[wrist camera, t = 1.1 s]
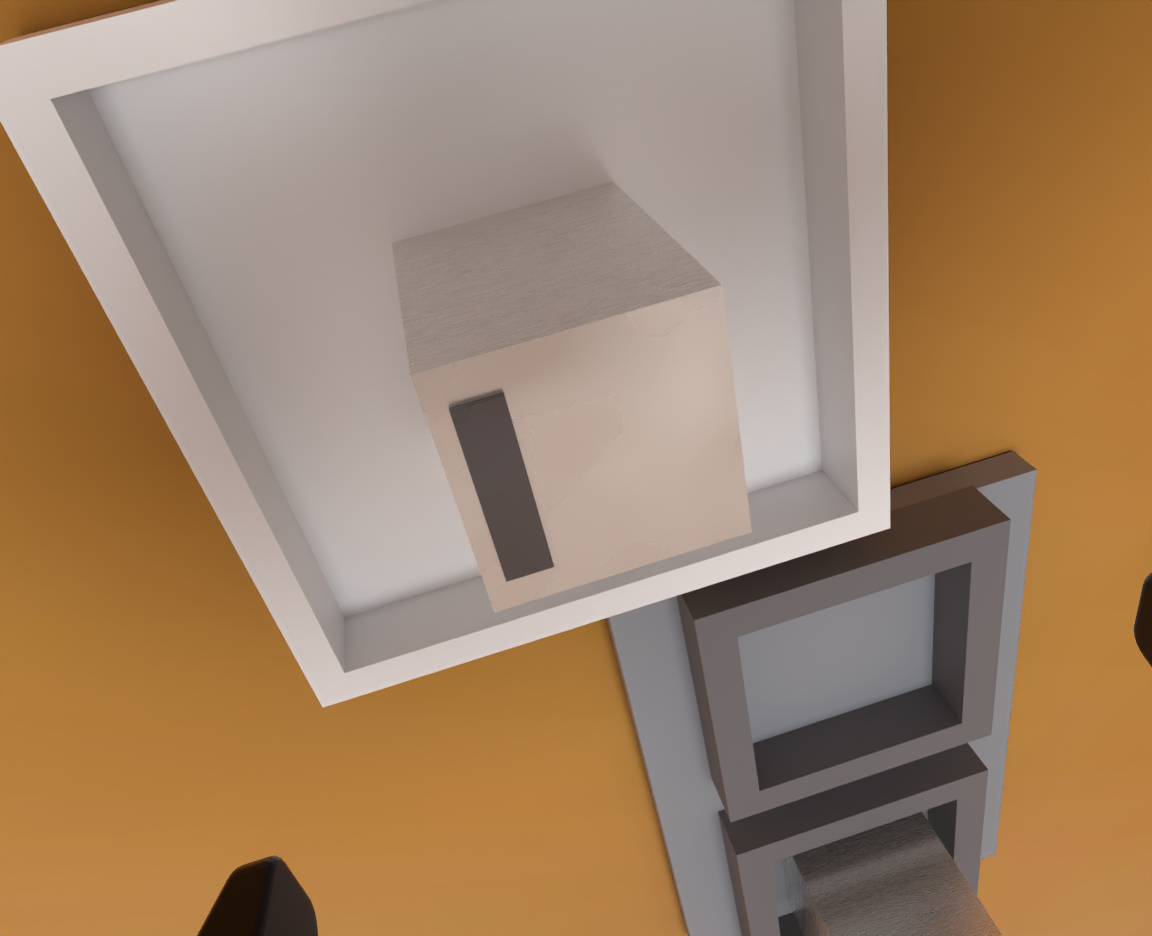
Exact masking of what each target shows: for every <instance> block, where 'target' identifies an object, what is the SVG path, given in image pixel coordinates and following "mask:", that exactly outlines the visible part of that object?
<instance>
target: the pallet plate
mask: <svg viewBox="0 0 1152 936" xmlns="http://www.w3.org/2000/svg"><path fill="white" fill-rule="evenodd" d="M1036 471H1037V470H1036V469H1035V468H1034V467H1033V466H1031V465H1030V464H1029V463H1028V462H1026V461H1025V460H1024V459H1022V458H1021V457H1020V456H1019V455H1017V454H1016V453H1015V452H1014V451H1011V452H1008V453H1005V454H1001V455H998V456H995V457H992V458H989V459H985V460H982V461H979V462H976V463H973V464H970V465H966V466H963V467H960V468H957V469H954V470H950V471H947V472H944V473H941V474H938V475H934V476H931V477H928V478H925V479H922V480H918V481H915V482H912V483H909V484H906V485H902V486H899V487H896V488H893V489H890V528H889V529H886V530H883V531H880V532H877V533H873V534H870V535H867V536H864V537H861V538H858V539H855V540H851V541H848V542H845V543H842V544H839V545H836V546H832V547H829V548H826V549H823V550H820V551H817V552H813V553H810V554H807V555H804V556H801V557H798V558H794V559H791V560H788V561H785V562H782V563H779V564H775V565H772V566H769V567H766V568H763V569H760V570H756V571H753V572H750V573H747V574H744V575H741V576H738V577H734V578H731V579H728V580H725V581H722V582H719V583H715V584H712V585H709V586H706V587H703V588H700V589H696V590H693V591H690V592H687V593H684V594H681V595H677V596H674V597H671V598H668V599H665V600H662V601H658V602H655V603H652V604H649V605H646V606H643V607H639V608H636V609H633V610H630V611H627V612H624V613H620V614H617V615H614V616H611V617H608V618H606V621H607V624H608V628H609V632H610V636H611V640H612V644H613V648H614V652H615V655H616V659H617V663H618V667H619V671H620V675H621V679H622V683H623V686H624V690H625V694H626V698H627V702H628V706H629V710H630V714H631V717H632V721H633V725H634V729H635V733H636V737H637V741H638V745H639V749H640V752H641V756H642V760H643V764H644V768H645V772H646V776H647V780H648V783H649V787H650V791H651V795H652V799H653V803H654V807H655V811H656V814H657V818H658V822H659V826H660V830H661V834H662V838H663V842H664V845H665V849H666V853H667V857H668V861H669V865H670V869H671V873H672V876H673V880H674V884H675V888H676V892H677V896H678V900H679V904H680V908H681V911H682V915H683V919H684V923H685V927H686V931H687V934H688V936H804V934H803V932H802V930H801V928H800V926H799V923H798V921H797V919H796V917H795V915H794V912H793V910H792V908H791V906H790V904H789V901H788V897H787V889H786V882H785V874H784V866H783V859H784V858H787V857H790V856H793V855H796V854H799V853H802V852H805V851H808V850H811V849H814V848H817V847H820V846H822V845H825V844H828V843H831V842H834V841H837V840H840V839H843V838H846V837H849V836H852V835H855V834H858V833H860V832H863V831H866V830H869V829H872V828H875V827H878V826H881V825H884V824H887V823H890V822H893V821H896V820H898V819H901V818H904V817H907V816H910V815H913V814H916V813H919V812H922V813H923V814H924V816H925V817H926V819H927V821H928V822H929V824H930V825H931V827H932V828H933V830H934V831H935V833H936V834H937V836H938V837H939V839H940V841H941V842H942V844H943V845H944V847H945V848H946V850H947V851H948V853H949V854H950V856H951V857H952V859H953V861H954V862H955V864H956V865H957V867H958V868H959V870H960V871H961V873H962V874H963V876H964V877H965V879H966V880H967V882H968V884H969V885H970V887H971V888H972V890H973V891H974V893H975V894H976V896H977V890H978V879H979V868H980V859H983V858H986V857H989V856H992V855H995V854H996V846H997V837H998V827H999V818H1000V809H1001V799H1002V790H1003V780H1004V771H1005V762H1006V752H1007V743H1008V734H1009V724H1010V715H1011V705H1012V696H1013V687H1014V677H1015V668H1016V659H1017V649H1018V640H1019V630H1020V621H1021V612H1022V602H1023V593H1024V584H1025V574H1026V565H1027V556H1028V546H1029V537H1030V527H1031V518H1032V509H1033V499H1034V490H1035V481H1036Z"/></svg>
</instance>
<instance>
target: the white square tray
mask: <svg viewBox="0 0 1152 936" xmlns="http://www.w3.org/2000/svg"><path fill="white" fill-rule="evenodd" d="M0 122H1V124H2V125H3V127H4V129H5V131H6V133H7V135H8V136H9V138H10V140H11V142H12V144H13V145H14V147H15V149H16V151H17V153H18V155H19V156H20V158H21V160H22V162H23V164H24V165H25V167H26V169H27V171H28V173H29V175H30V176H31V178H32V180H33V182H34V184H35V185H36V187H37V189H38V191H39V193H40V195H41V196H42V198H43V200H44V202H45V204H46V205H47V207H48V209H49V211H50V213H51V215H52V216H53V218H54V220H55V222H56V224H57V225H58V227H59V229H60V231H61V233H62V235H63V236H64V238H65V240H66V242H67V244H68V245H69V247H70V249H71V251H72V253H73V255H74V256H75V258H76V260H77V262H78V264H79V265H80V267H81V269H82V271H83V273H84V275H85V276H86V278H87V280H88V282H89V284H90V285H91V287H92V289H93V291H94V293H95V295H96V296H97V298H98V300H99V302H100V304H101V305H102V307H103V309H104V311H105V313H106V315H107V316H108V318H109V320H110V322H111V324H112V325H113V327H114V329H115V331H116V333H117V335H118V336H119V338H120V340H121V342H122V344H123V345H124V347H125V349H126V351H127V353H128V355H129V356H130V358H131V360H132V362H133V364H134V365H135V367H136V369H137V371H138V373H139V375H140V376H141V378H142V380H143V382H144V384H145V385H146V387H147V389H148V391H149V393H150V395H151V396H152V398H153V400H154V402H155V404H156V405H157V407H158V409H159V411H160V413H161V415H162V416H163V418H164V420H165V422H166V424H167V425H168V427H169V429H170V431H171V433H172V435H173V436H174V438H175V440H176V442H177V444H178V445H179V447H180V449H181V451H182V453H183V455H184V456H185V458H186V460H187V462H188V464H189V465H190V467H191V469H192V471H193V473H194V475H195V476H196V478H197V480H198V482H199V484H200V485H201V487H202V489H203V491H204V493H205V495H206V496H207V498H208V500H209V502H210V504H211V505H212V507H213V509H214V511H215V513H216V515H217V516H218V518H219V520H220V522H221V524H222V525H223V527H224V529H225V531H226V533H227V535H228V536H229V538H230V540H231V542H232V544H233V545H234V547H235V549H236V551H237V553H238V555H239V556H240V558H241V560H242V562H243V564H244V565H245V567H246V569H247V571H248V573H249V575H250V576H251V578H252V580H253V582H254V584H255V585H256V587H257V589H258V591H259V593H260V595H261V596H262V598H263V600H264V602H265V604H266V605H267V607H268V609H269V611H270V613H271V615H272V616H273V618H274V620H275V622H276V624H277V626H278V627H279V629H280V631H281V633H282V635H283V636H284V638H285V640H286V642H287V644H288V646H289V647H290V649H291V651H292V653H293V655H294V656H295V658H296V660H297V662H298V664H299V666H300V667H301V669H302V671H303V673H304V675H305V676H306V678H307V680H308V682H309V684H310V686H311V687H312V689H313V691H314V693H315V695H316V696H317V698H318V700H319V702H320V704H321V706H322V707H326V706H330V705H333V704H336V703H339V702H342V701H345V700H349V699H352V698H355V697H358V696H361V695H364V694H368V693H371V692H374V691H377V690H380V689H383V688H386V687H390V686H393V685H396V684H399V683H402V682H405V681H409V680H412V679H415V678H418V677H421V676H424V675H428V674H431V673H434V672H437V671H440V670H443V669H447V668H450V667H453V666H456V665H459V664H462V663H466V662H469V661H472V660H475V659H478V658H481V657H485V656H488V655H491V654H494V653H497V652H500V651H503V650H507V649H510V648H513V647H516V646H519V645H522V644H526V643H529V642H532V641H535V640H538V639H541V638H545V637H548V636H551V635H554V634H557V633H560V632H564V631H567V630H570V629H573V628H576V627H579V626H583V625H586V624H589V623H592V622H595V621H598V620H602V619H605V618H608V617H611V616H614V615H617V614H620V613H624V612H627V611H630V610H633V609H636V608H639V607H643V606H646V605H649V604H652V603H655V602H658V601H662V600H665V599H668V598H671V597H674V596H677V595H681V594H684V593H687V592H690V591H693V590H696V589H700V588H703V587H706V586H709V585H712V584H715V583H719V582H722V581H725V580H728V579H731V578H734V577H738V576H741V575H744V574H747V573H750V572H753V571H756V570H760V569H763V568H766V567H769V566H772V565H775V564H779V563H782V562H785V561H788V560H791V559H794V558H798V557H801V556H804V555H807V554H810V553H813V552H817V551H820V550H823V549H826V548H829V547H832V546H836V545H839V544H842V543H845V542H848V541H851V540H855V539H858V538H861V537H864V536H867V535H870V534H873V533H877V532H880V531H883V530H886V529H889V528H890V405H889V268H888V131H887V0H160V1H156V2H152V3H148V4H144V5H140V6H136V7H132V8H128V9H124V10H120V11H116V12H112V13H108V14H104V15H101V16H97V17H93V18H89V19H85V20H81V21H77V22H73V23H69V24H65V25H61V26H57V27H53V28H49V29H45V30H41V31H37V32H33V33H29V34H26V35H22V36H18V37H15V38H12V39H9V40H6V41H3V42H0ZM612 181H614V182H615V183H616V184H617V185H618V186H619V187H620V188H621V189H622V190H623V191H624V192H625V193H626V194H627V195H628V196H630V197H631V198H632V199H633V200H634V201H635V202H636V203H637V204H638V205H639V206H640V207H641V208H642V209H643V210H644V211H645V212H646V213H647V214H648V215H649V216H651V217H652V218H653V219H654V220H655V221H656V222H657V223H658V224H659V225H660V226H661V227H662V228H663V229H664V230H665V231H666V232H667V233H668V234H669V235H670V236H672V237H673V238H674V239H675V240H676V241H677V242H678V243H679V244H680V245H681V246H682V247H683V248H684V249H685V250H686V251H687V252H688V253H689V254H690V255H691V256H693V257H694V258H695V259H696V260H697V261H698V262H699V263H700V264H701V265H702V266H703V267H704V268H705V269H706V270H707V271H708V272H709V273H710V274H711V275H712V276H714V277H715V278H716V279H717V280H718V281H719V282H720V283H721V284H722V288H723V296H724V305H725V313H726V321H727V330H728V338H729V346H730V355H731V363H732V371H733V379H734V388H735V396H736V404H737V413H738V421H739V429H740V438H741V446H742V454H743V462H744V471H745V479H746V487H747V496H748V504H749V512H750V521H751V529H752V532H750V533H747V534H744V535H741V536H738V537H734V538H731V539H728V540H725V541H722V542H718V543H715V544H712V545H709V546H706V547H702V548H699V549H696V550H693V551H690V552H686V553H683V554H680V555H677V556H674V557H670V558H667V559H664V560H661V561H658V562H654V563H651V564H648V565H645V566H642V567H638V568H635V569H632V570H629V571H626V572H623V573H619V574H616V575H613V576H610V577H607V578H603V579H600V580H597V581H594V582H591V583H587V584H584V585H581V586H578V587H575V588H571V589H568V590H565V591H562V592H559V593H555V594H552V595H549V596H546V597H543V598H539V599H536V600H533V601H530V602H527V603H523V604H520V605H517V606H514V607H511V608H507V609H504V610H501V611H498V612H495V613H494V610H493V607H492V604H491V601H490V598H489V596H488V593H487V590H486V587H485V584H484V581H483V579H482V576H481V573H480V570H479V567H478V565H477V562H476V559H475V556H474V553H473V550H472V548H471V545H470V542H469V539H468V536H467V533H466V531H465V528H464V525H463V522H462V519H461V517H460V514H459V511H458V508H457V505H456V502H455V500H454V497H453V494H452V491H451V488H450V485H449V483H448V480H447V477H446V474H445V471H444V468H443V466H442V463H441V460H440V457H439V454H438V452H437V449H436V446H435V443H434V440H433V437H432V435H431V432H430V429H429V426H428V423H427V420H426V418H425V415H424V412H423V409H422V406H421V404H420V401H419V398H418V395H417V392H416V389H415V387H414V384H413V381H412V378H411V375H410V368H409V362H408V355H407V348H406V341H405V334H404V327H403V320H402V313H401V306H400V299H399V292H398V285H397V278H396V271H395V264H394V257H393V251H392V244H391V243H394V242H397V241H401V240H404V239H408V238H412V237H415V236H419V235H422V234H426V233H430V232H433V231H437V230H440V229H444V228H447V227H451V226H455V225H458V224H462V223H465V222H469V221H473V220H476V219H480V218H483V217H487V216H490V215H494V214H498V213H501V212H505V211H508V210H512V209H516V208H519V207H523V206H526V205H530V204H534V203H537V202H541V201H544V200H548V199H551V198H555V197H559V196H562V195H566V194H569V193H573V192H577V191H580V190H584V189H587V188H591V187H595V186H598V185H602V184H605V183H609V182H612Z"/></svg>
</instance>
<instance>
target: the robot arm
mask: <svg viewBox="0 0 1152 936" xmlns="http://www.w3.org/2000/svg"><path fill="white" fill-rule="evenodd" d="M1134 635H1135V639H1136V642H1137V645H1138V647H1139V649H1140V651H1141V652H1142V654H1143V656H1144V657H1145V658H1146V660H1147V661H1148V662H1149V664H1150V665H1151V666H1152V573H1151V574H1149V575H1148V576H1147V577H1146V579H1145V581H1144V584H1143V588H1142V592H1141V597H1140V602H1139V606H1138V611H1137V616H1136V620H1135V625H1134ZM197 936H318V929H317V920H316V915H315V911H314V908H313V905H312V902H311V900H310V899H309V897H308V895H307V894H306V892H305V891H304V889H303V888H302V887H301V885H300V884H299V882H298V881H297V879H296V878H295V876H294V875H293V873H292V872H291V870H290V869H289V868H288V866H287V865H286V863H285V862H284V861H283V860H282V859H281V858H279V857H277V856H270V857H267V858H263V859H260V860H257V861H254V862H251V863H248V864H245V865H242V866H240V867H238V868H237V869H235V870H234V871H233V872H232V874H231V875H230V876H229V878H228V879H227V881H226V883H225V885H224V887H223V889H222V890H221V892H220V894H219V896H218V898H217V900H216V902H215V903H214V905H213V907H212V909H211V911H210V913H209V915H208V916H207V918H206V920H205V922H204V924H203V926H202V927H201V929H200V931H199V933H198V935H197Z"/></svg>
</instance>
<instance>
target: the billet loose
mask: <svg viewBox="0 0 1152 936" xmlns="http://www.w3.org/2000/svg"><path fill="white" fill-rule="evenodd" d="M391 244H392V251H393V257H394V264H395V271H396V278H397V285H398V292H399V299H400V306H401V313H402V320H403V327H404V334H405V341H406V348H407V355H408V362H409V368H410V375H411V378H412V381H413V384H414V387H415V389H416V392H417V395H418V398H419V401H420V404H421V406H422V409H423V412H424V415H425V418H426V420H427V423H428V426H429V429H430V432H431V435H432V437H433V440H434V443H435V446H436V449H437V452H438V454H439V457H440V460H441V463H442V466H443V468H444V471H445V474H446V477H447V480H448V483H449V485H450V488H451V491H452V494H453V497H454V500H455V502H456V505H457V508H458V511H459V514H460V517H461V519H462V522H463V525H464V528H465V531H466V533H467V536H468V539H469V542H470V545H471V548H472V550H473V553H474V556H475V559H476V562H477V565H478V567H479V570H480V573H481V576H482V579H483V581H484V584H485V587H486V590H487V593H488V596H489V598H490V601H491V604H492V607H493V610H494V613H495V612H498V611H501V610H504V609H507V608H511V607H514V606H517V605H520V604H523V603H527V602H530V601H533V600H536V599H539V598H543V597H546V596H549V595H552V594H555V593H559V592H562V591H565V590H568V589H571V588H575V587H578V586H581V585H584V584H587V583H591V582H594V581H597V580H600V579H603V578H607V577H610V576H613V575H616V574H619V573H623V572H626V571H629V570H632V569H635V568H638V567H642V566H645V565H648V564H651V563H654V562H658V561H661V560H664V559H667V558H670V557H674V556H677V555H680V554H683V553H686V552H690V551H693V550H696V549H699V548H702V547H706V546H709V545H712V544H715V543H718V542H722V541H725V540H728V539H731V538H734V537H738V536H741V535H744V534H747V533H750V532H752V529H751V521H750V512H749V504H748V496H747V487H746V479H745V471H744V462H743V454H742V446H741V438H740V429H739V421H738V413H737V404H736V396H735V388H734V379H733V371H732V363H731V355H730V346H729V338H728V330H727V321H726V313H725V305H724V296H723V288H722V284H721V283H720V282H719V281H718V280H717V279H716V278H715V277H714V276H712V275H711V274H710V273H709V272H708V271H707V270H706V269H705V268H704V267H703V266H702V265H701V264H700V263H699V262H698V261H697V260H696V259H695V258H694V257H693V256H691V255H690V254H689V253H688V252H687V251H686V250H685V249H684V248H683V247H682V246H681V245H680V244H679V243H678V242H677V241H676V240H675V239H674V238H673V237H672V236H670V235H669V234H668V233H667V232H666V231H665V230H664V229H663V228H662V227H661V226H660V225H659V224H658V223H657V222H656V221H655V220H654V219H653V218H652V217H651V216H649V215H648V214H647V213H646V212H645V211H644V210H643V209H642V208H641V207H640V206H639V205H638V204H637V203H636V202H635V201H634V200H633V199H632V198H631V197H630V196H628V195H627V194H626V193H625V192H624V191H623V190H622V189H621V188H620V187H619V186H618V185H617V184H616V183H615V182H614V181H612V182H609V183H605V184H602V185H598V186H595V187H591V188H587V189H584V190H580V191H577V192H573V193H569V194H566V195H562V196H559V197H555V198H551V199H548V200H544V201H541V202H537V203H534V204H530V205H526V206H523V207H519V208H516V209H512V210H508V211H505V212H501V213H498V214H494V215H490V216H487V217H483V218H480V219H476V220H473V221H469V222H465V223H462V224H458V225H455V226H451V227H447V228H444V229H440V230H437V231H433V232H430V233H426V234H422V235H419V236H415V237H412V238H408V239H404V240H401V241H397V242H394V243H391Z"/></svg>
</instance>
